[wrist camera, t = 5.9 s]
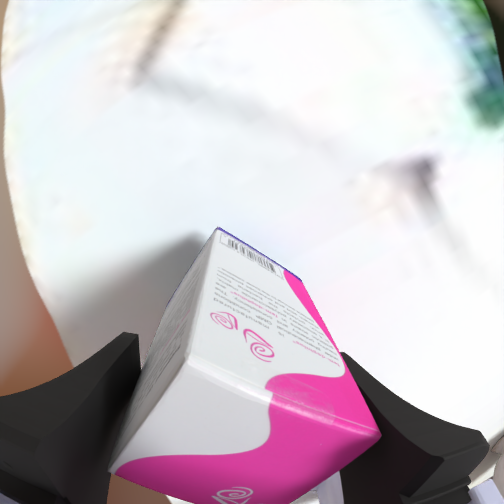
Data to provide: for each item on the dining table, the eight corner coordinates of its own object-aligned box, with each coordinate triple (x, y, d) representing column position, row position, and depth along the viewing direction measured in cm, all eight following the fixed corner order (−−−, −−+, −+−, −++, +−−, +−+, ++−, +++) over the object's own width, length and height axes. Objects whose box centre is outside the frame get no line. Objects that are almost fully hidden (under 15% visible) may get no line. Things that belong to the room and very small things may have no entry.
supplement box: (163, 309, 17) (97, 472, 6) (217, 223, 16) (188, 339, 5) (247, 355, 18) (263, 525, 7) (305, 280, 17) (396, 430, 6)
